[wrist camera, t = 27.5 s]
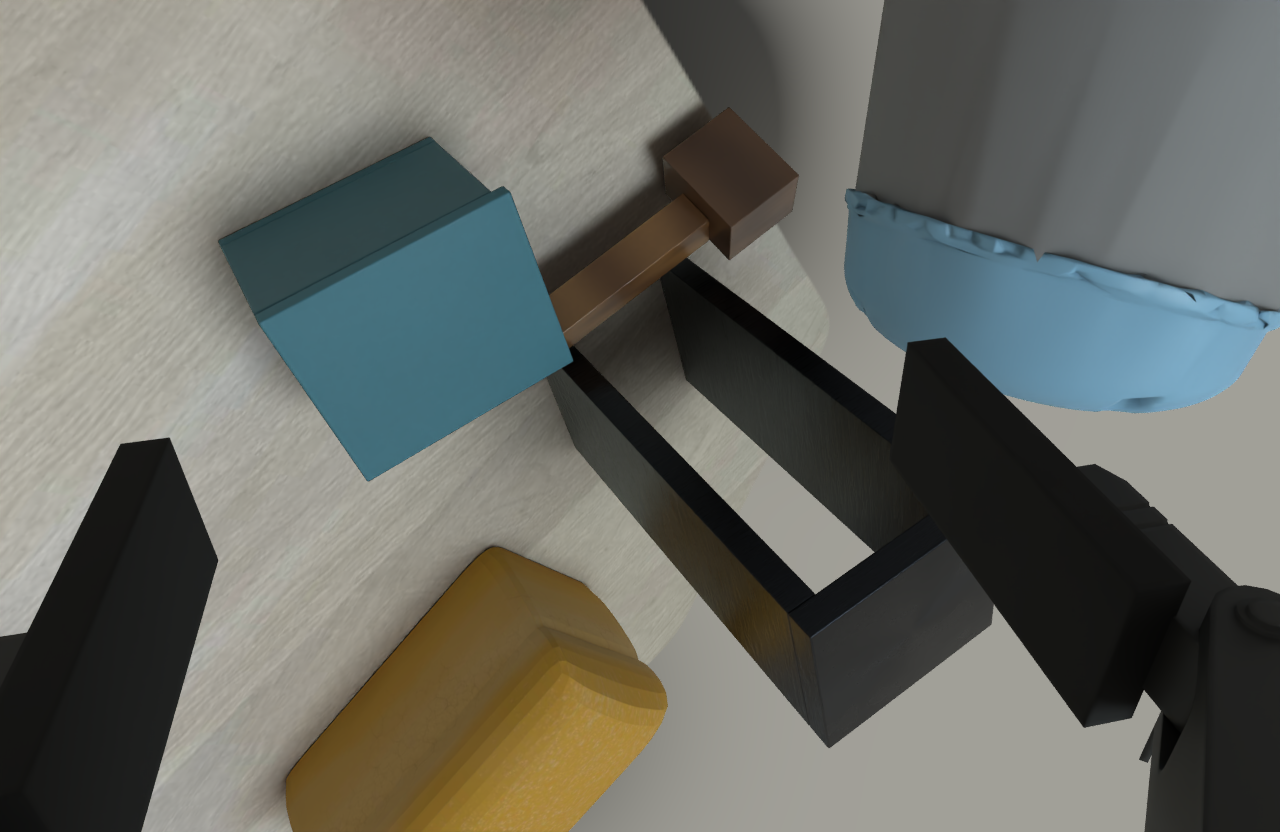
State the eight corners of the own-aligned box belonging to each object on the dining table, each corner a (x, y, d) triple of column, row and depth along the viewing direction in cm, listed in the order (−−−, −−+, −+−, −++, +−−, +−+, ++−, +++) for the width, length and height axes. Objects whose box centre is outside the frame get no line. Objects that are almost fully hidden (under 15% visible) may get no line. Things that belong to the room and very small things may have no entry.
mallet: (727, 146, 55) (729, 106, 51) (792, 211, 53) (799, 175, 50) (509, 311, 53) (493, 282, 49) (570, 384, 51) (559, 360, 47)
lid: (502, 184, 40) (510, 191, 39) (567, 354, 47) (574, 361, 47) (253, 314, 37) (258, 323, 36) (363, 473, 44) (368, 482, 44)
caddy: (429, 135, 45) (491, 191, 40) (497, 295, 52) (557, 359, 47) (217, 240, 42) (253, 314, 37) (320, 393, 49) (362, 472, 44)
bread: (404, 800, 74) (474, 971, 64) (272, 785, 65) (330, 983, 55) (595, 585, 72) (698, 727, 62) (487, 538, 63) (589, 697, 53)
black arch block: (673, 247, 57) (1006, 495, 39) (702, 369, 65) (992, 624, 47) (527, 330, 55) (810, 638, 36) (575, 447, 62) (828, 749, 44)
